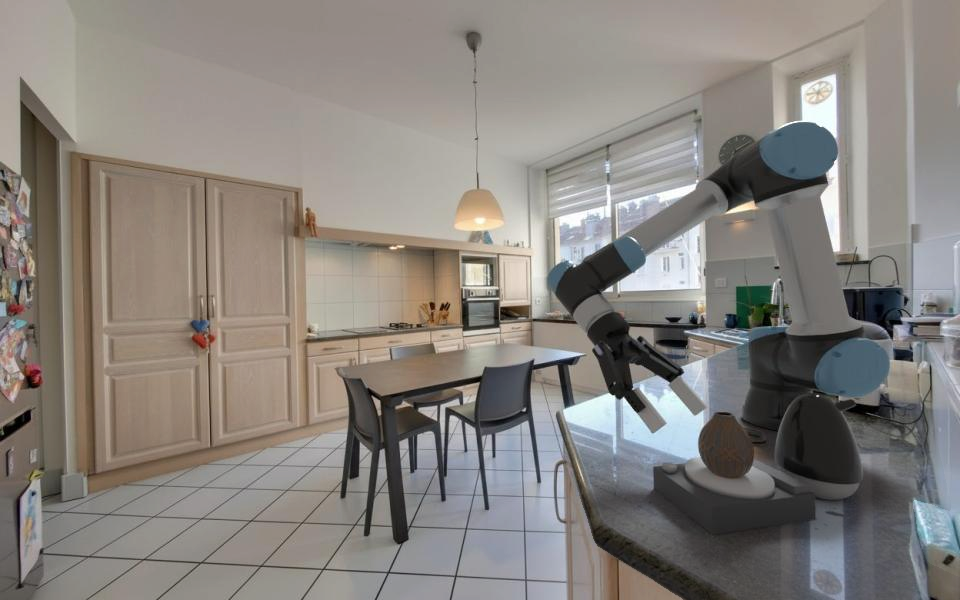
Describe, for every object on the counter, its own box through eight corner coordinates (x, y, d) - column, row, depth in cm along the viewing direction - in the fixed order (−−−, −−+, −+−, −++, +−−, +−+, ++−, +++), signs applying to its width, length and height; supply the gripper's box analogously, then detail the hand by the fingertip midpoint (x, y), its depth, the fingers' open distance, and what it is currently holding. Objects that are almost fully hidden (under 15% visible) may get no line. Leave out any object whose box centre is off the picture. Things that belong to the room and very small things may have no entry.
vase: (762, 487, 51) (760, 422, 51) (704, 479, 53) (703, 418, 53) (745, 465, 57) (743, 408, 57) (694, 459, 59) (693, 405, 59)
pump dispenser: (886, 512, 52) (883, 403, 52) (800, 506, 54) (797, 401, 54) (832, 477, 62) (830, 386, 62) (762, 473, 64) (759, 385, 64)
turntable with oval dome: (740, 478, 62) (739, 451, 62) (815, 519, 50) (814, 486, 50) (653, 488, 60) (653, 460, 60) (712, 534, 48) (711, 499, 48)
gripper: (626, 331, 82) (700, 416, 69) (547, 340, 67) (622, 449, 55) (649, 308, 77) (731, 393, 65) (569, 312, 63) (656, 423, 51)
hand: (682, 419), depth 60 cm, fingers open, 13 cm apart
